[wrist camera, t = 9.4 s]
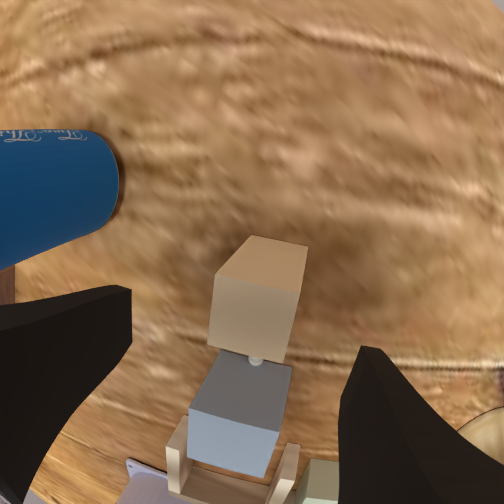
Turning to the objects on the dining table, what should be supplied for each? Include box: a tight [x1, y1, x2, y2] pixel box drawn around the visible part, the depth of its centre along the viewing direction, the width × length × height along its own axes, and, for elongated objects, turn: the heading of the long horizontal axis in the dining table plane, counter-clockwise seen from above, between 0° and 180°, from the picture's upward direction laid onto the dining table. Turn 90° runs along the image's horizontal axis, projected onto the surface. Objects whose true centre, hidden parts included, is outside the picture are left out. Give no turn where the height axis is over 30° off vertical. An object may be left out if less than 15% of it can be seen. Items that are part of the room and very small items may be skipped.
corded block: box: [187, 235, 308, 478], centre depth 16 cm, size 12×4×6 cm, turn 171°
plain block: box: [294, 458, 339, 504], centre depth 19 cm, size 4×4×4 cm
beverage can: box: [0, 129, 119, 271], centre depth 13 cm, size 6×6×12 cm
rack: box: [166, 415, 301, 504], centre depth 20 cm, size 8×17×4 cm, turn 81°
